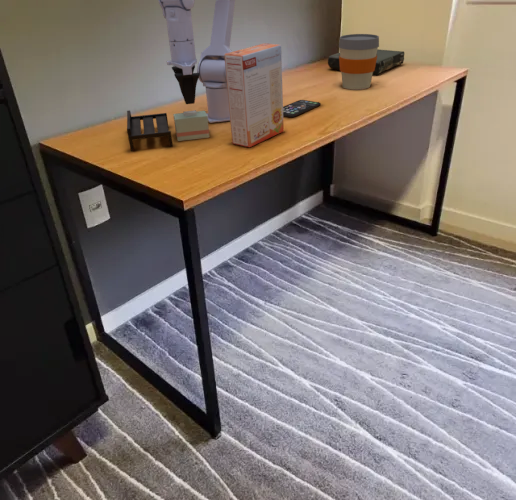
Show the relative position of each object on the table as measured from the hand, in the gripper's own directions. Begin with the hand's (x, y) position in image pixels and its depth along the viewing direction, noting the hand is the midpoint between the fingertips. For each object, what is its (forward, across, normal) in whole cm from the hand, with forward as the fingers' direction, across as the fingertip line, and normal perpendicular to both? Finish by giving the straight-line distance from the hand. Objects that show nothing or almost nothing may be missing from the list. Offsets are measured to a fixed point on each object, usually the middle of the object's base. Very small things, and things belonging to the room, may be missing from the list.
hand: (188, 99), depth 120 cm
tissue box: (+9, 0, 0) cm, 9 cm away
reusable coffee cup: (+9, -32, +58) cm, 66 cm away
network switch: (+9, -57, +72) cm, 92 cm away
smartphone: (+9, -13, +32) cm, 35 cm away
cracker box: (+9, +7, +16) cm, 19 cm away
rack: (+9, -2, -10) cm, 14 cm away
